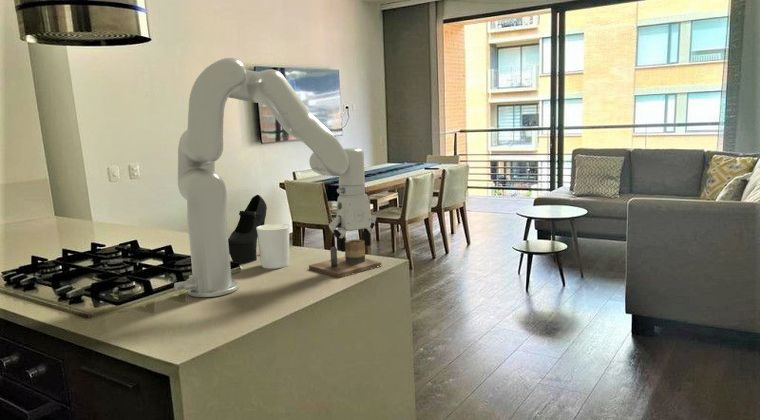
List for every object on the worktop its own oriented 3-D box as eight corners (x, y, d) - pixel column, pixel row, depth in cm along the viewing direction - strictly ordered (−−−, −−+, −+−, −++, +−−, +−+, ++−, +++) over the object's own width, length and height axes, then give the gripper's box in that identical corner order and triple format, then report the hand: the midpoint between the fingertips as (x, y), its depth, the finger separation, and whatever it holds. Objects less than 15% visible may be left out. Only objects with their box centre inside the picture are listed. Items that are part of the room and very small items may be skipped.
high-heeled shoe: (222, 265, 169) (216, 201, 166) (257, 251, 186) (253, 193, 183) (243, 267, 166) (238, 202, 163) (277, 253, 183) (273, 193, 180)
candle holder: (284, 269, 161) (282, 229, 159) (253, 269, 163) (250, 229, 161) (296, 261, 171) (294, 223, 169) (266, 261, 173) (264, 223, 171)
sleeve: (354, 264, 160) (353, 244, 159) (342, 261, 164) (341, 241, 163) (368, 260, 163) (368, 241, 162) (356, 257, 167) (355, 238, 166)
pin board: (338, 277, 151) (337, 252, 150) (309, 269, 161) (307, 245, 160) (381, 266, 161) (380, 242, 160) (351, 258, 171) (350, 236, 170)
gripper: (336, 194, 152) (339, 255, 154) (382, 188, 163) (384, 245, 166) (320, 192, 157) (323, 251, 160) (366, 187, 169) (367, 241, 171)
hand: (354, 248), depth 163 cm, fingers open, 9 cm apart
